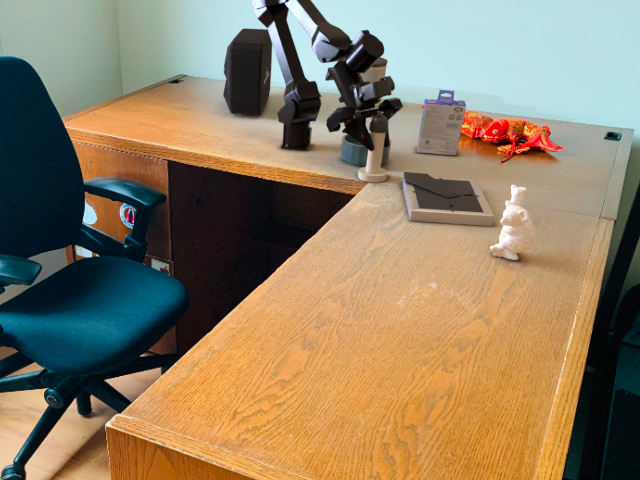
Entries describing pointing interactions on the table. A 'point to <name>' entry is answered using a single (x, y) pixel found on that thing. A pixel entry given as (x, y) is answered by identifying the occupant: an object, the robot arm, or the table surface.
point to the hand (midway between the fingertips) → (380, 148)
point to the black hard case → (248, 72)
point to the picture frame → (445, 200)
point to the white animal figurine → (515, 227)
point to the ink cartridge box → (441, 125)
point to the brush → (375, 151)
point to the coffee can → (376, 73)
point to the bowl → (358, 151)
